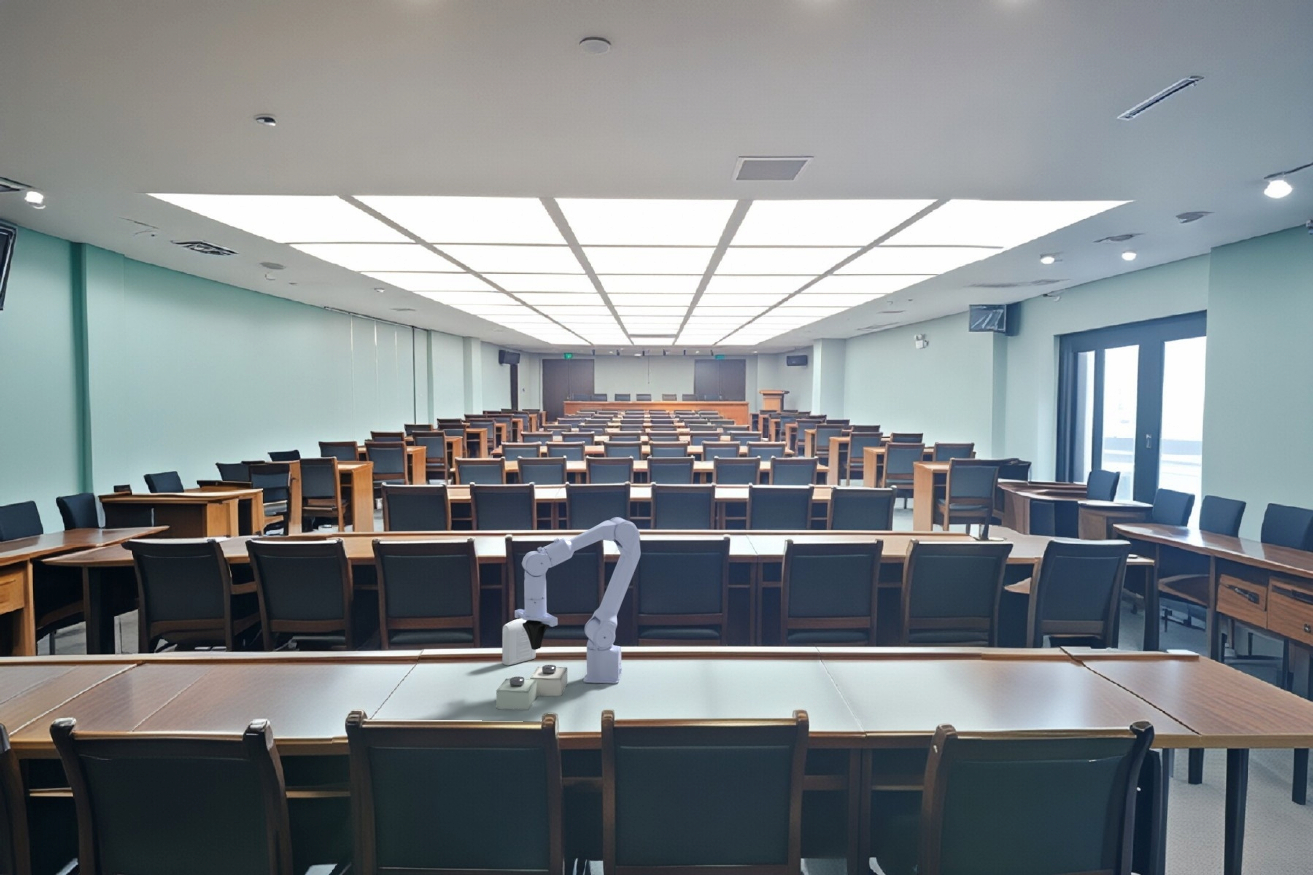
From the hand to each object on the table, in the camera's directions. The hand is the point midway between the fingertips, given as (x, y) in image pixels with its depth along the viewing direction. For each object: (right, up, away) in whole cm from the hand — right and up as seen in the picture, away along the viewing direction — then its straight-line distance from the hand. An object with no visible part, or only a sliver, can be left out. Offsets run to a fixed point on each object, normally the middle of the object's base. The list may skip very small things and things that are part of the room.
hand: (536, 648), depth 182 cm
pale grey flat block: (-3, -11, -10) cm, 15 cm away
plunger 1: (-3, -10, -10) cm, 14 cm away
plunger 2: (+4, -10, -1) cm, 10 cm away
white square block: (+4, -10, -2) cm, 11 cm away
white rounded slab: (-9, -10, +21) cm, 24 cm away
